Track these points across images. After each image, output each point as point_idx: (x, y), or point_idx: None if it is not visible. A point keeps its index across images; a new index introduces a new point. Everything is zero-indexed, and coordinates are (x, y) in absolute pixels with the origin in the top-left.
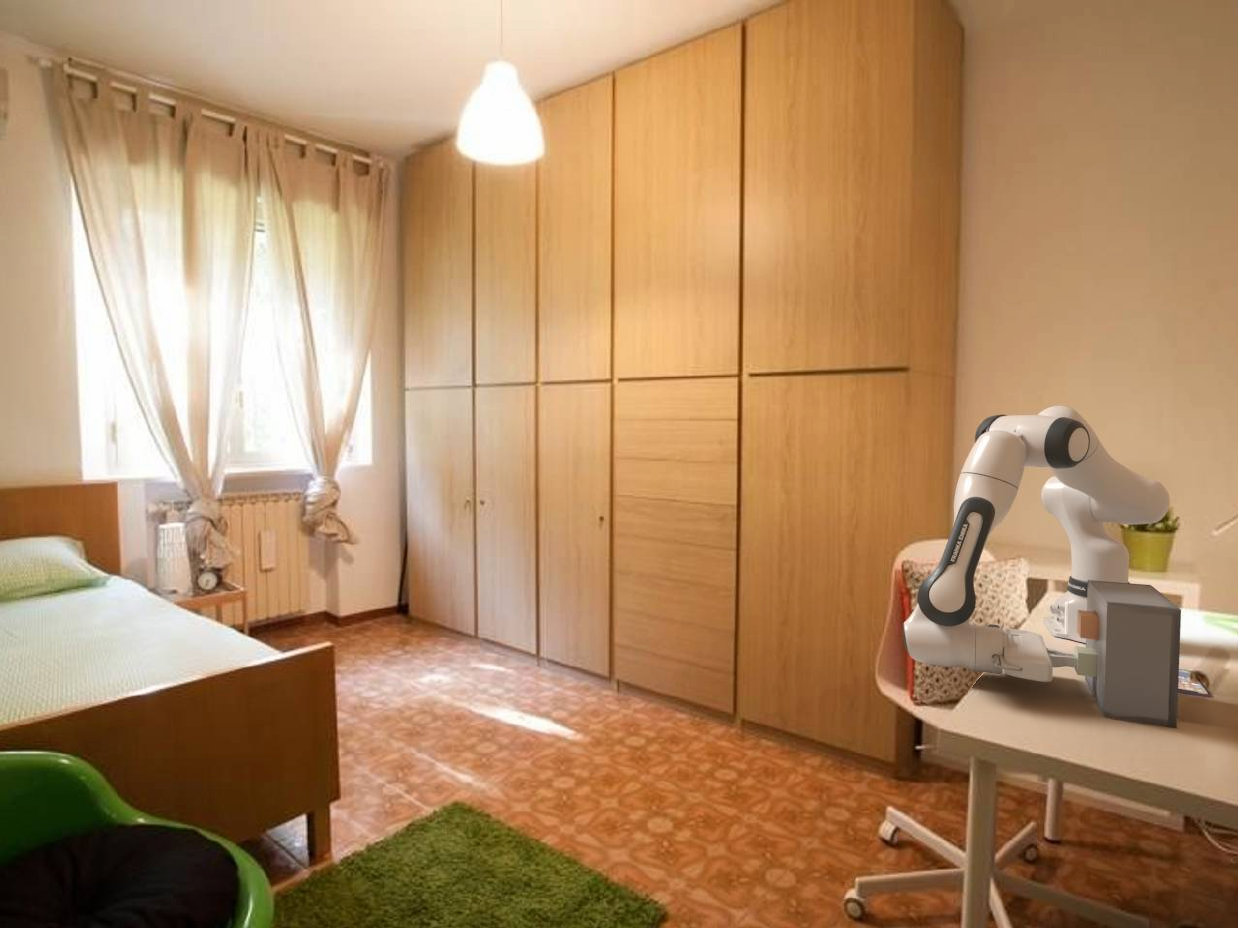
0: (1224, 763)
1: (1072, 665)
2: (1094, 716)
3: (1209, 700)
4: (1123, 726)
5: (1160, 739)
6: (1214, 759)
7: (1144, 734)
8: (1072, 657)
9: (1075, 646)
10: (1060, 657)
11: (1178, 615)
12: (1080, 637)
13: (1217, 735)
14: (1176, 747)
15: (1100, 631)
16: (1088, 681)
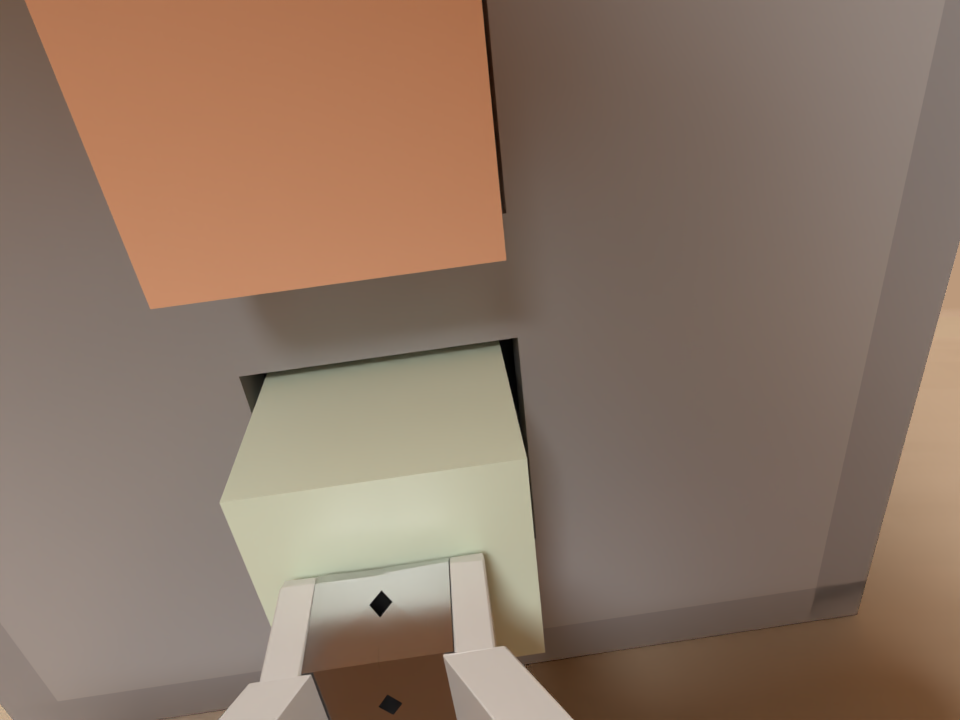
0: (948, 314)
1: (496, 644)
2: (900, 664)
3: None
4: (910, 530)
5: (921, 423)
6: (942, 327)
7: (927, 463)
8: (481, 577)
9: (234, 498)
10: (557, 712)
11: None
12: (504, 255)
13: None
14: (957, 388)
15: (657, 11)
16: (187, 690)
